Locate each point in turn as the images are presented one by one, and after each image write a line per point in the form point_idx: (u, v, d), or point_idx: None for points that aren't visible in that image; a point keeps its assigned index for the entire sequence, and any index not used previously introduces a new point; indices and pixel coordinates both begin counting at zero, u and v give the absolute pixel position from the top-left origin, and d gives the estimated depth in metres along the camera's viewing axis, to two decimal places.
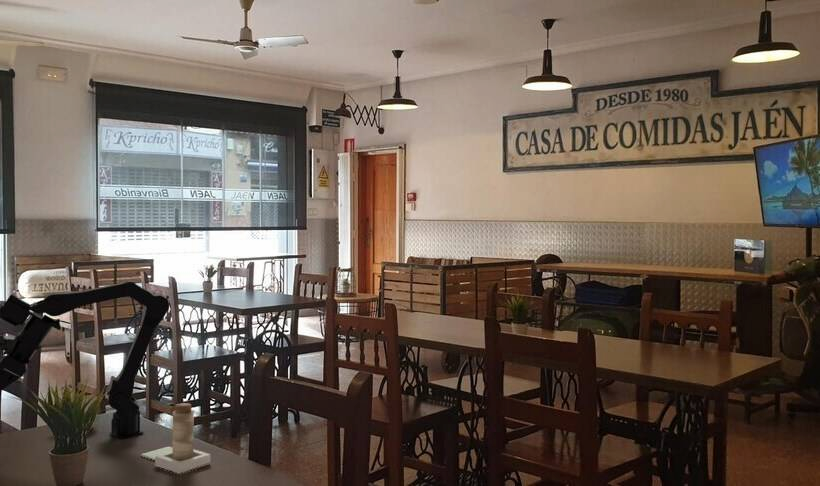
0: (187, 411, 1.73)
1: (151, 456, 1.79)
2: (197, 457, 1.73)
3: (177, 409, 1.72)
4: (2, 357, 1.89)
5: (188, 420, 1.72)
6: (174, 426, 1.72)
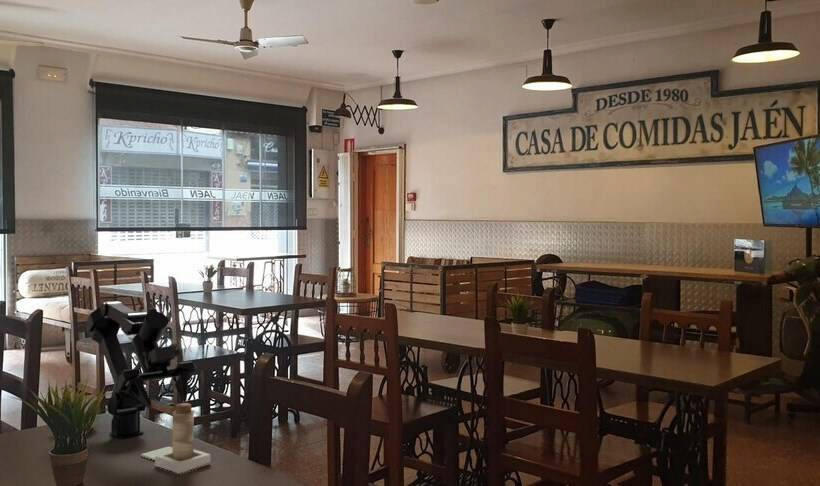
0: (187, 411, 1.73)
1: (151, 456, 1.79)
2: (197, 457, 1.73)
3: (177, 409, 1.72)
4: (142, 377, 1.78)
5: (188, 420, 1.72)
6: (174, 426, 1.72)
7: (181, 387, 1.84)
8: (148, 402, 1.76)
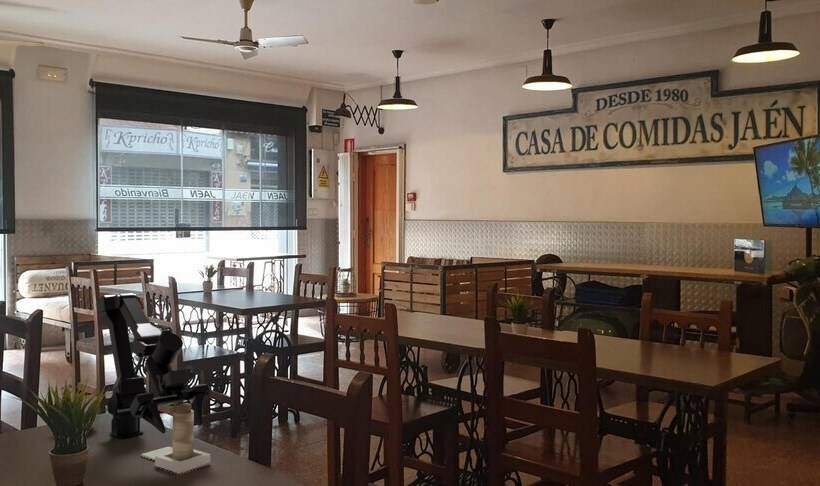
0: (187, 411, 1.73)
1: (151, 456, 1.79)
2: (197, 457, 1.73)
3: (177, 409, 1.72)
4: (156, 402, 1.72)
5: (188, 420, 1.72)
6: (174, 426, 1.72)
7: (196, 411, 1.79)
8: (163, 427, 1.71)
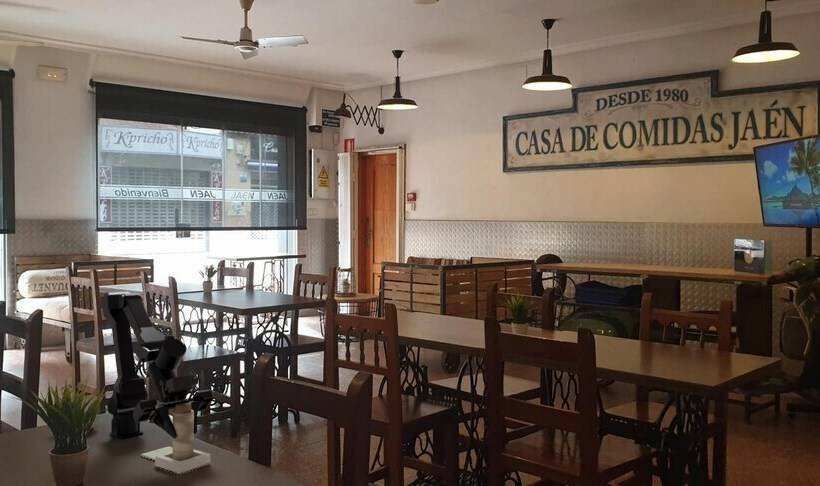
0: (187, 411, 1.73)
1: (151, 456, 1.79)
2: (197, 457, 1.73)
3: (177, 409, 1.72)
4: (167, 407, 1.73)
5: (188, 420, 1.72)
6: (174, 426, 1.72)
7: None
8: (174, 432, 1.71)
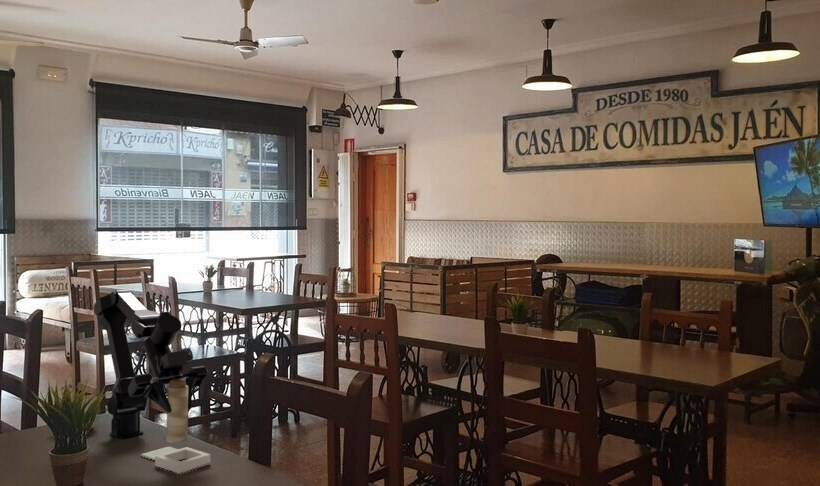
0: (182, 386, 1.75)
1: (151, 456, 1.79)
2: (197, 457, 1.73)
3: (172, 384, 1.74)
4: (162, 382, 1.75)
5: (183, 395, 1.74)
6: (169, 401, 1.74)
7: None
8: (168, 407, 1.73)
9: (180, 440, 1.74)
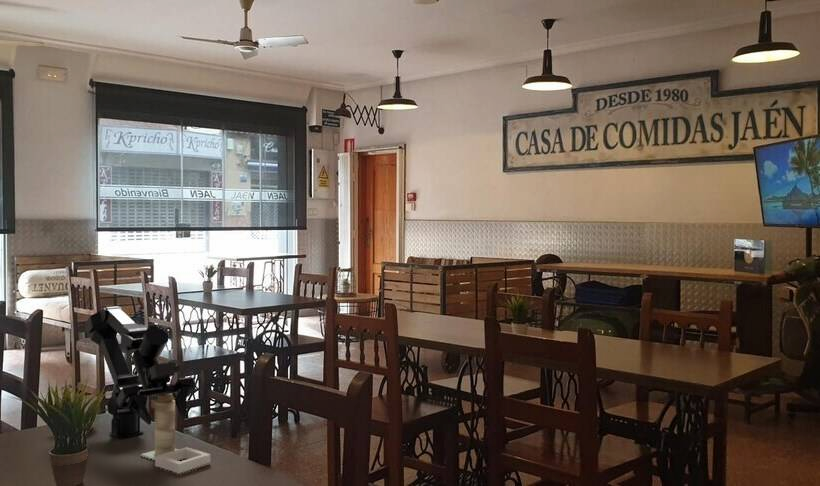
0: (168, 401, 1.80)
1: (151, 456, 1.79)
2: (197, 457, 1.73)
3: (159, 399, 1.79)
4: (142, 394, 1.78)
5: (170, 409, 1.79)
6: (156, 415, 1.79)
7: (180, 403, 1.85)
8: (148, 419, 1.77)
9: None
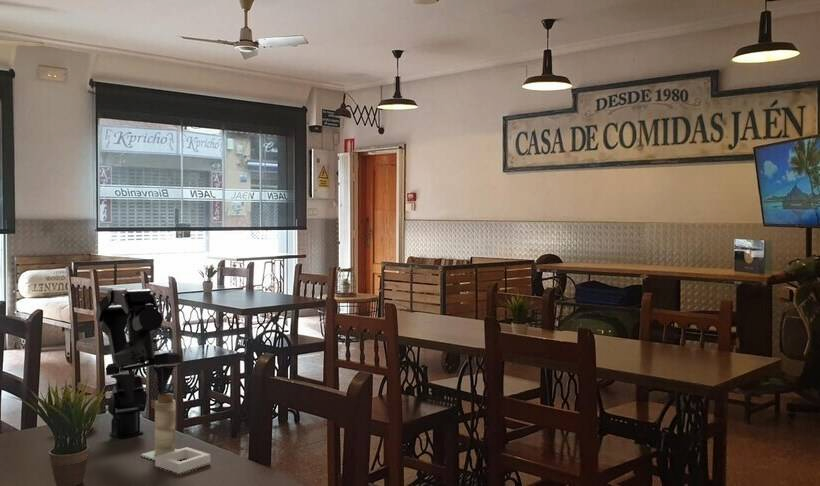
0: (169, 400, 1.80)
1: (151, 456, 1.79)
2: (197, 457, 1.73)
3: (159, 398, 1.79)
4: (119, 374, 1.85)
5: (170, 409, 1.79)
6: (156, 415, 1.79)
7: None
8: (127, 397, 1.85)
9: None
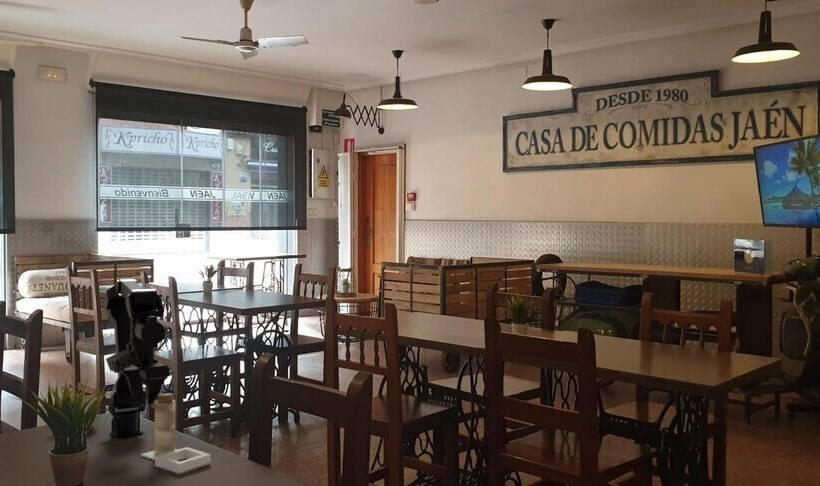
0: (169, 401, 1.80)
1: (151, 456, 1.79)
2: (197, 457, 1.73)
3: (159, 399, 1.79)
4: (123, 371, 1.85)
5: (170, 409, 1.79)
6: (156, 415, 1.79)
7: None
8: (131, 393, 1.86)
9: None
